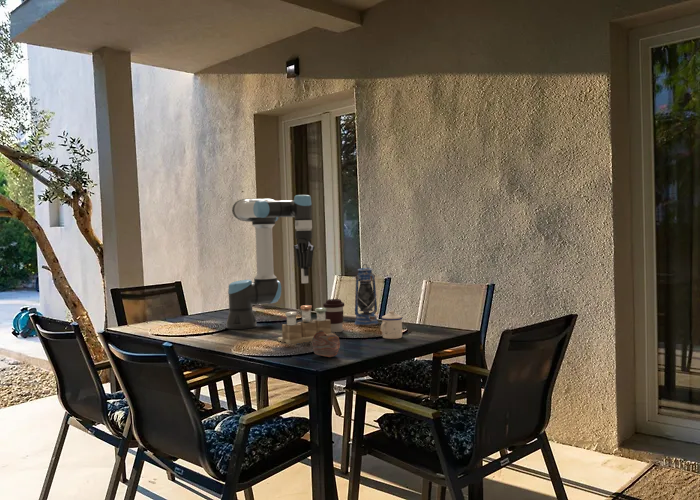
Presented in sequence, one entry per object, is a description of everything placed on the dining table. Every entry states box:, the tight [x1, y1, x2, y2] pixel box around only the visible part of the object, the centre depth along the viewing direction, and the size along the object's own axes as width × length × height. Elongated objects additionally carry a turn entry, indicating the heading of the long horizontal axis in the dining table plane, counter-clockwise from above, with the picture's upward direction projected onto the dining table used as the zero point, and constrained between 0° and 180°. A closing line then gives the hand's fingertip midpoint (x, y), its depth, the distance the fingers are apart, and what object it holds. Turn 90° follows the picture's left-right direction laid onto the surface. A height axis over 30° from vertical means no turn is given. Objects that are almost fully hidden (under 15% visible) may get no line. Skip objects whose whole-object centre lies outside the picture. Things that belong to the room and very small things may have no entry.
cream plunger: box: [284, 311, 298, 326], centre depth 262 cm, size 5×5×10 cm
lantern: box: [353, 263, 380, 326], centre depth 304 cm, size 15×12×30 cm
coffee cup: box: [322, 298, 345, 334], centre depth 284 cm, size 10×10×15 cm
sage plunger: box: [314, 307, 326, 321], centre depth 272 cm, size 5×5×10 cm
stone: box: [311, 330, 341, 358], centre depth 231 cm, size 13×8×10 cm
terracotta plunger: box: [300, 304, 313, 323], centre depth 267 cm, size 5×5×10 cm
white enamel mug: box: [380, 310, 403, 340], centre depth 265 cm, size 12×9×12 cm
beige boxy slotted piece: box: [277, 318, 337, 345], centre depth 267 cm, size 12×23×8 cm, turn 129°
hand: (304, 283), depth 268 cm, fingers closed
